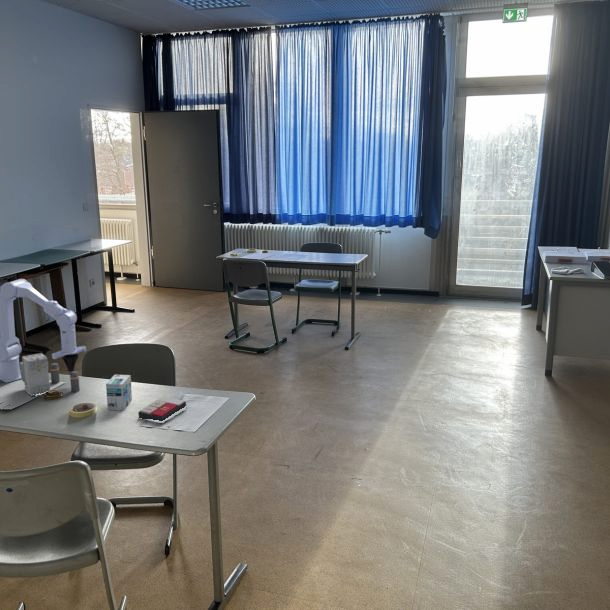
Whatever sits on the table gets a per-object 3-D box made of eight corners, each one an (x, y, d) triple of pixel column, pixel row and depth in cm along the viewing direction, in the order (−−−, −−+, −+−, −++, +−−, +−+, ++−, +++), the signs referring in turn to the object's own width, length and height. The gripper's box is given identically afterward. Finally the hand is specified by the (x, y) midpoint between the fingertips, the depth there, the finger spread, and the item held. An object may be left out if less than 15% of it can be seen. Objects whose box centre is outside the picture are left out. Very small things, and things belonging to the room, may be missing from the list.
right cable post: (69, 390, 248) (67, 372, 246) (76, 388, 251) (75, 370, 249) (74, 393, 246) (72, 374, 244) (81, 390, 249) (80, 372, 247)
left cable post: (49, 382, 257) (48, 364, 255) (57, 380, 260) (55, 362, 258) (54, 384, 255) (52, 366, 253) (61, 382, 258) (60, 364, 256)
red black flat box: (137, 410, 223) (163, 394, 236) (138, 420, 224) (163, 404, 237) (161, 416, 219) (186, 399, 232) (162, 426, 220) (186, 409, 233)
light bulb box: (124, 411, 230) (123, 384, 228) (106, 410, 230) (105, 383, 228) (132, 400, 241) (131, 374, 238) (115, 399, 241) (114, 374, 238)
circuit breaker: (39, 382, 256) (36, 349, 253) (50, 393, 246) (47, 358, 242) (21, 386, 251) (17, 352, 248) (31, 397, 241) (27, 361, 237)
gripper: (57, 346, 243) (60, 377, 246) (89, 338, 254) (91, 368, 257) (48, 342, 247) (50, 374, 250) (80, 335, 258) (82, 365, 261)
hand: (70, 371), depth 254 cm, fingers closed
